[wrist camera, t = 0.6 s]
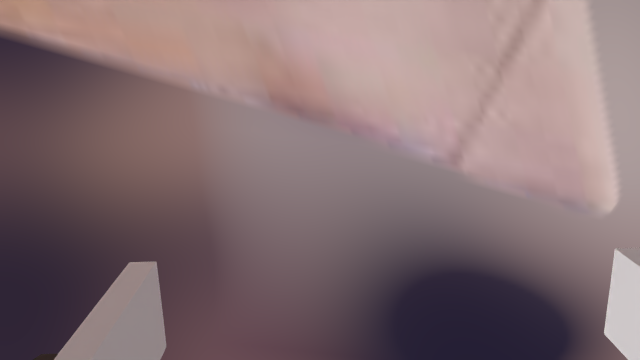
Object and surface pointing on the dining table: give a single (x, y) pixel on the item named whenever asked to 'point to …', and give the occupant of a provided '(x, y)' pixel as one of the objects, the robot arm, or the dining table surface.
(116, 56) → the dining table surface
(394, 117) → the dining table surface
